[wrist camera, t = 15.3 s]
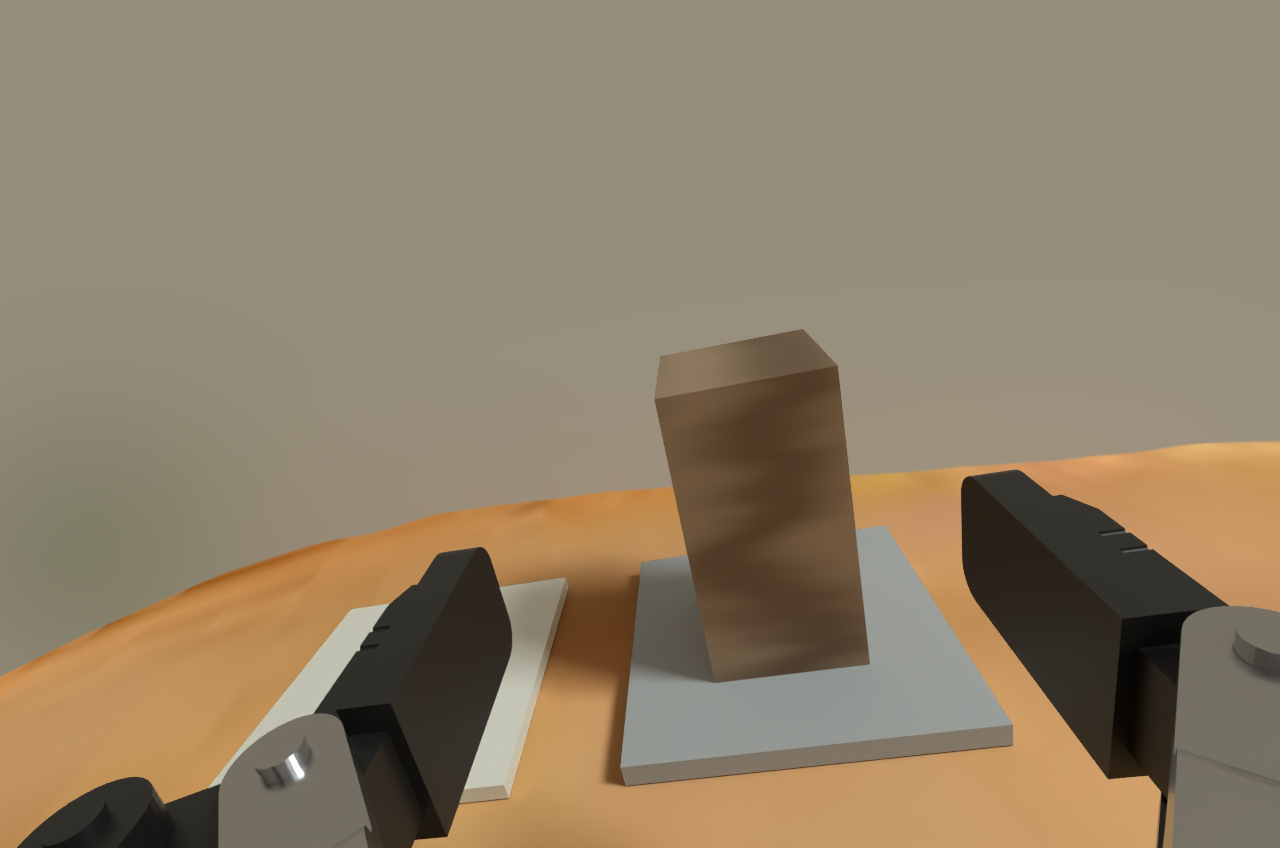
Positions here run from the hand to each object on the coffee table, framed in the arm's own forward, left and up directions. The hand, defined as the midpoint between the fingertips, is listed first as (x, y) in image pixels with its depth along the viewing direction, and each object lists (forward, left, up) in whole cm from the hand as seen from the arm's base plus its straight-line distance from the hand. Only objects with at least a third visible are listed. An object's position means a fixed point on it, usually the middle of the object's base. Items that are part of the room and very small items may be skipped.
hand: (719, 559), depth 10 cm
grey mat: (+1, +12, -11) cm, 16 cm away
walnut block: (+1, +12, -11) cm, 16 cm away
